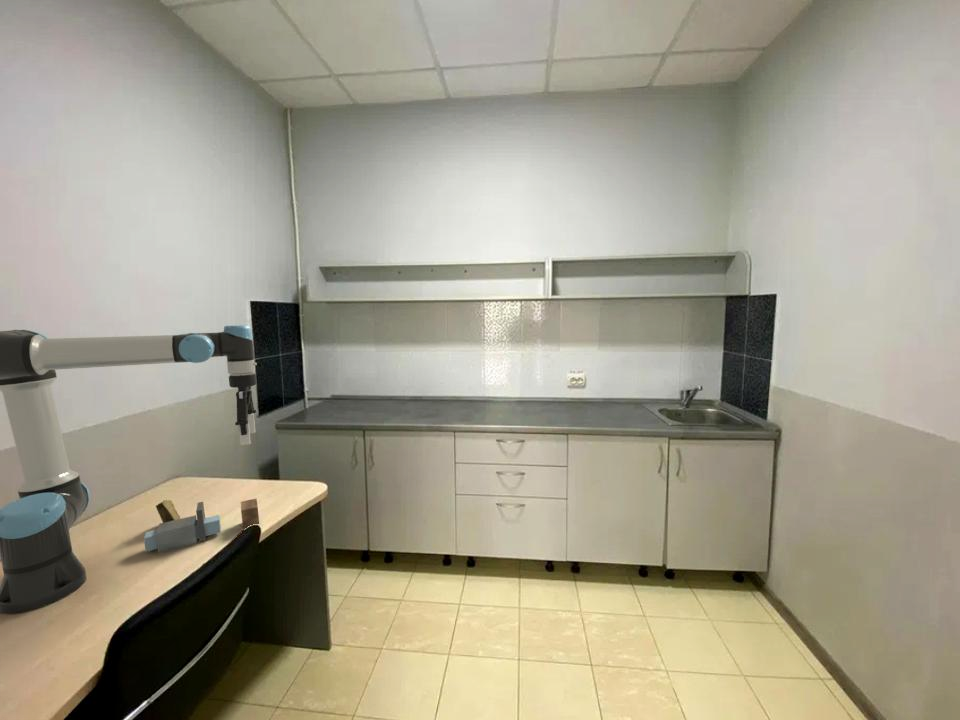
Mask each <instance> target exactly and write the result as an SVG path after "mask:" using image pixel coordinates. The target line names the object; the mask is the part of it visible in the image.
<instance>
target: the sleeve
mask: <svg viewBox="0 0 960 720" xmlns="http://www.w3.org/2000/svg"><path fill="white" fill-rule="evenodd" d="M196 520H197V514H196V515H190V516H187V517H183V518H180V519H178V520H173V521H169V522H165V523H163V522H162V523H159V524H158V526H157V529H156V530H157V532H156V537H157V544H158V549H157V550H158V555H159V554H163V553H166V552H167V553H168V552H171V551H174V550H175V551H176V550H178V549H182V548H186V547H189V546H190V547H191V546H193V545H194V546H195V545H197V544H198V539H199V538H197V539H196V530H195V521H196Z"/></svg>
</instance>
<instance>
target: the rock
mask: <svg viewBox="0 0 960 720" xmlns="http://www.w3.org/2000/svg"><path fill="white" fill-rule="evenodd" d="M155 508H156V510H157V512H158V514H159V517H160V519H161V521H162V523H165V522H169V521H173V520H178V519H181V516H180V515H179V514H178V511H177V510H176V508H175V505H174V503H173V501H172V500H168V499H165V500H163V501H162V502H160V503H158V504H156V505H155Z"/></svg>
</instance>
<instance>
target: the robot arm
mask: <svg viewBox="0 0 960 720" xmlns="http://www.w3.org/2000/svg"><path fill="white" fill-rule="evenodd" d="M217 357H226V366H227V373H228V375H229V376H228V384H229V387H230V388H237V392H236V394H235V397H236V422H235V426H237V427H238V434H239V435H238V437H239V446H248V445H251V443H252V442H251V434H256V424H255V414H256V413H257V411H256V409H255V407H254V400H253V395H252V393H253V392H252V387H253V386H255V385H257V374H256V373H255V372H256V366H257V365H258V364H257V363H258V362H255V353H254V340H253V333H252V327H251V326H249V325H248V324H242V325H241V324H240V325H239V324H238V325H237V324H236V325H225V326H223V331H221V332H219V331H218V332H189V333H181V334H175V335H174V334H172V335H135V336H134V335H131V336H98V337H97V336H96V337H69V338H68V337H64V338H61V337H60V338H49V337H48V336H46V335H44V334H42V333H40V332H37V331H32V330H28V329H12V330H0V392H1V393H2V395H3V400H4V404H5V405H4V406H5V409H6V412H7V417H8V421H9V424H10V428H11V432H12V436H13V437H12V438H13V440H14V444H15V445H14V446H15V448H16V453H17V457H18V461H19V465H20V468H21V472H22V477H23V482H22V483H21V485H19V486H18V488H17V493H18V499H17V500H16V501H12V502H9V503H8V504H6V505H4V506H3V507H1V508H0V562H1V566H2V571H3V577H2V580H1V584H0V613H2V614H5V613H7V615H10V614H11V615H12V614H20V613H25V612H29V611H33V610H36V609H39V608H42V607H45V606H47V605H50V604H52V603H55V602H57V601H60V600H61V599H63V598H65V597H67V596H69V595H70V594H72V593H74V592H75V591H76V590H78V589H79V588H81V587H82V585H84V583H85V582H86V580H87V573H86V568H85V566H83V564H82V562H81V561H80V560H79V559H78V557H77V556H76V555H75V553H74V552H73V547H72V541H71V534H70V533H71V532H70V529H71V528H72V526H74V524H75V523H76V521H77V520H78V519H79V518H80V517H81V516H82V515H83V514H84V513H85V511H86V509H87V508H88V506H89V502H90V499H91V497H90V496H91V493H90V490H89V488H88V487H87V485H86V484H85V483H84V482H82V481H81V478H80V477H81V476H80V473H79V472H77V471H75V470H72V469H71V468H70V463H69V460H68V455H67V451H66V447H65V442H64V438H63V435H62V429H61V425H60V421H59V416H58V412H57V409H56V404H55V400H54V396H53V391H52V387H51V385H52V383H54V381H56V380H57V378H58V377H57V372H56V371H57V370H71V369H74V370H75V369H89V368H104V367H105V368H106V367H121V366H122V367H123V366H141V365H142V366H143V365H155V364H157V365H158V364H173V363H175V364H176V363H193V364H198V363H205V362H207V361H208V360H209V359H210V358H217Z"/></svg>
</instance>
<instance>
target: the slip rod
mask: <svg viewBox="0 0 960 720" xmlns="http://www.w3.org/2000/svg"><path fill="white" fill-rule="evenodd" d="M204 505H205V504H204V501H200V502H197V503H196V510H195V512H196V519H197V520H196V521H195V530H196V539H197V538H198V539H199V543H200V542H205V541H206V540H207V537H208V536H211V535H212V536H213V535H216V534H219V533H221V526H222V525H221V519H220V518H221V517H220V514H216V515H211V516H209V517H206V515H205V514H206V513H205V507H204ZM156 532H157V529H154V530H149V531H146V532H145V535H144V536H143V537H144V538H143V541H144V542H143V544H144V549H145V552H149V551H153V550H158V544H157V537H156Z"/></svg>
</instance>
